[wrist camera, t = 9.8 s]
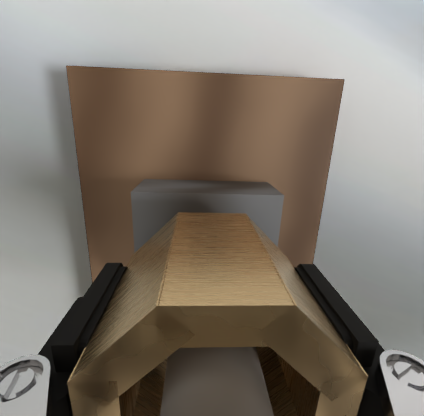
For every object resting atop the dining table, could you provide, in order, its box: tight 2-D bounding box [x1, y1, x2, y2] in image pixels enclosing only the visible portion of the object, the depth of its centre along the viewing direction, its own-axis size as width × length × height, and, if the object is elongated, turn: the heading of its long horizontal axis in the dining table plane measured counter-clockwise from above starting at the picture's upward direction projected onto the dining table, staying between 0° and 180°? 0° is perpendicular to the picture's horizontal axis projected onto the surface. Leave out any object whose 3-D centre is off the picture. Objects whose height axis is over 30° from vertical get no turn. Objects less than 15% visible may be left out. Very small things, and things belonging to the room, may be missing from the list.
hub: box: [67, 212, 368, 416], centre depth 8 cm, size 6×6×6 cm
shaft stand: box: [66, 66, 345, 416], centre depth 11 cm, size 14×18×13 cm
